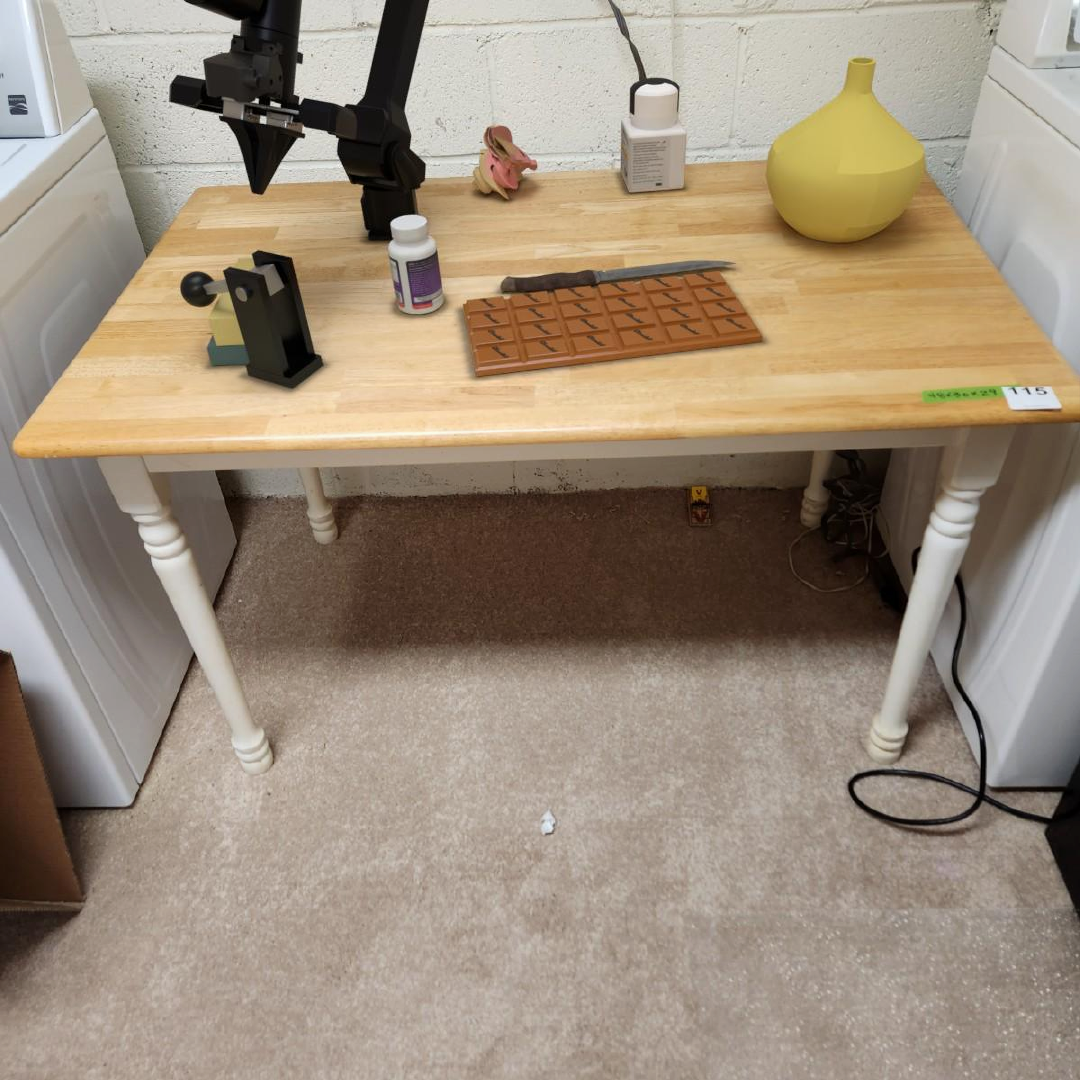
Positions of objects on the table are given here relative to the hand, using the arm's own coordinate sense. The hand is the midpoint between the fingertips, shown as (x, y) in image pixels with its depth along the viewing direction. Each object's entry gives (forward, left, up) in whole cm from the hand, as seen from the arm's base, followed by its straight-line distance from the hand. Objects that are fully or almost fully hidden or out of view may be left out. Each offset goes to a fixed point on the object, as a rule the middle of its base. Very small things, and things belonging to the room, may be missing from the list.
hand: (257, 194), depth 99 cm
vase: (-67, -13, -13) cm, 70 cm away
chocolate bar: (-37, +9, -13) cm, 40 cm away
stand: (-3, +15, -13) cm, 20 cm away
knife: (-39, -2, -13) cm, 41 cm away
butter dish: (+3, +6, -13) cm, 14 cm away
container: (-46, -31, -13) cm, 57 cm away
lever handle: (+1, +13, -6) cm, 14 cm away
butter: (+3, +6, -11) cm, 13 cm away
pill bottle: (-16, +2, -13) cm, 21 cm away
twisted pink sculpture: (-26, -31, -13) cm, 43 cm away
